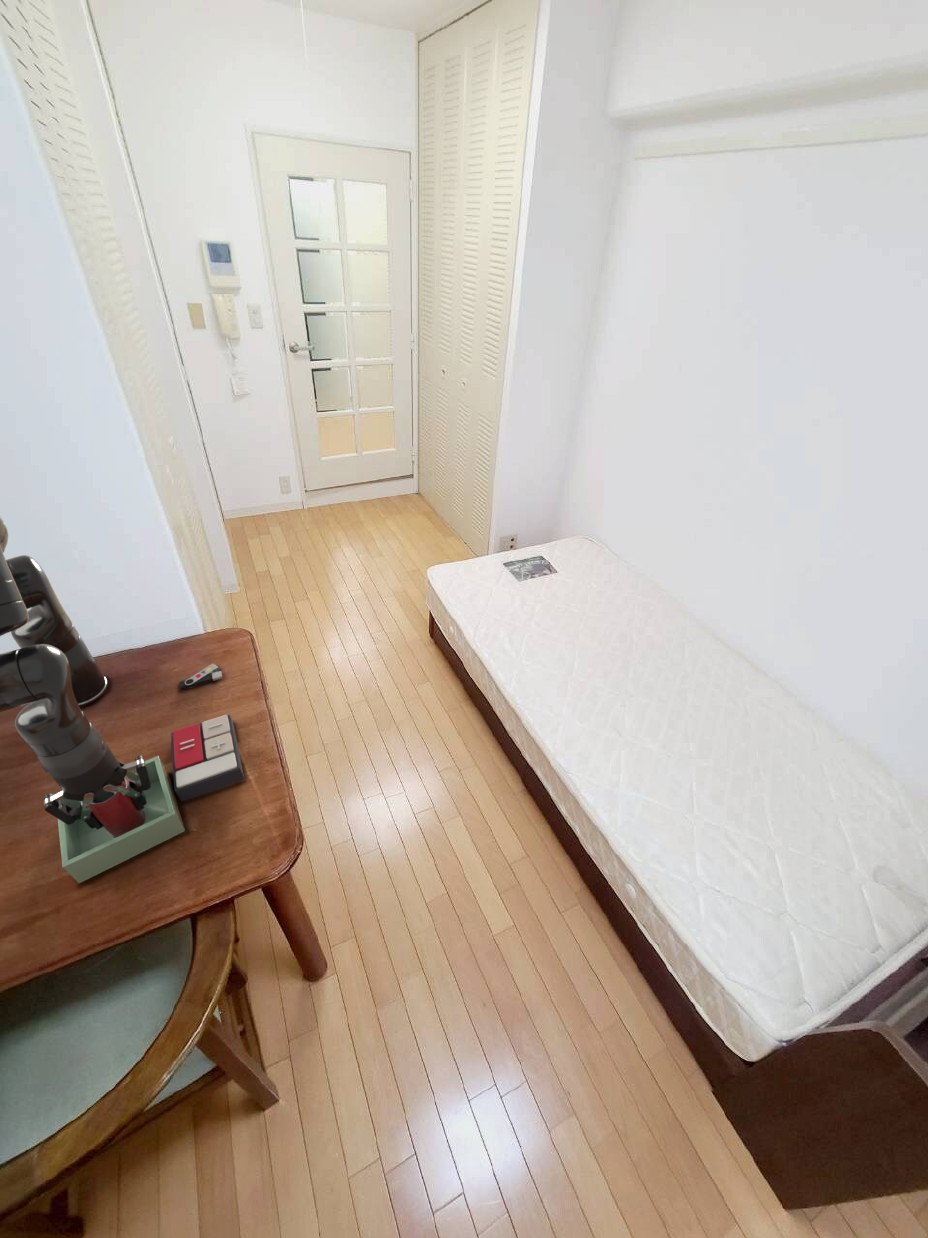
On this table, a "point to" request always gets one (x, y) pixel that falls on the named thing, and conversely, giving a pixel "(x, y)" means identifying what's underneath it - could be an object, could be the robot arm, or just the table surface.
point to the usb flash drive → (202, 677)
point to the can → (117, 813)
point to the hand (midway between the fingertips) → (120, 814)
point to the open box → (100, 851)
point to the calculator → (205, 757)
